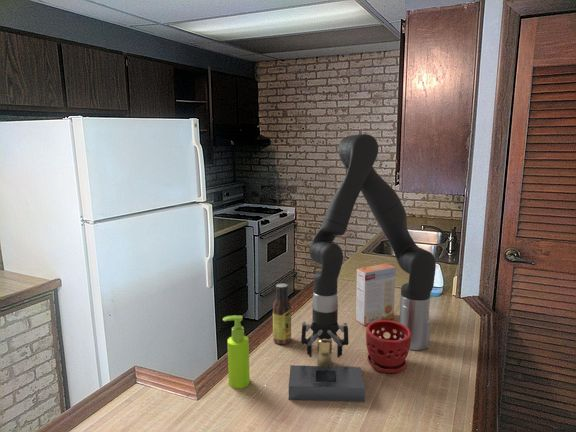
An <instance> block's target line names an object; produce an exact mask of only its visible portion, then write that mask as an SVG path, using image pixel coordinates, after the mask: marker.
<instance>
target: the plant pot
mask: <svg viewBox="0 0 576 432" xmlns="http://www.w3.org/2000/svg"><path fill="white" fill-rule="evenodd" d="M394 331H396V332H394ZM400 332H402V335H401V334H400ZM385 333H388V334H389V336H390V337H388V338H386V337H385V336H384V334H385ZM405 334H406V337H404V336H405ZM394 336H395V337H394ZM399 338H402V339H400V340H399ZM410 343H411V332H410V330H409V329H408V328H407V327H406V326H404V325H403V324H400V323H399V322H398V321H395V320H380V321H375V322H372V323H370V324H369V325H367V327H366V329H365V344H366V345H365V346H366V350H367V353H368V354H367V357H366V360H367V362H368V364H369V366H371V367H372V368H373V369H374V370H376V371H379V372H381V373H385V374H396V373H399V372H401V371H403V370H404V369H405V368H406V366H407V357H408V354H409V353H410Z"/></svg>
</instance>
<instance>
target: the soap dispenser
mask: <svg viewBox="0 0 576 432" xmlns="http://www.w3.org/2000/svg"><path fill="white" fill-rule="evenodd" d="M222 321H223V322H227V321H229V322H231V321H234V326H232V327H231V336H229V337H228V338H227V363H228V364H227V367H228V370H227V371H228V384H229V386H230V387H231V388H233V389H243V388H245V387H247V386H249V385H250V381H251V380H250V345H249V344H250V343H249V342H250V339H249V338H248V336H246V335H245V327H244V326H243V325H242V324H241V322H242V321H243V315H235V314H234V315H226V316H224V317H222Z"/></svg>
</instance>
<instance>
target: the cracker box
mask: <svg viewBox="0 0 576 432" xmlns="http://www.w3.org/2000/svg"><path fill="white" fill-rule="evenodd" d="M396 269H397V268H396V266H393V265H391V264H389V263H380V264H377V265H370V266H364V267H359V268H356V295H355V296H356V297H355V301H356V303H355V322H356V321H357V322H358V323H359V324H360V325H362V326H364V327H366V326H368V325H369V324H370V323H372V322H375V321H380V320H389V321H392V320H393V319H394V318H395V297H396V296H395V293H396V292H395V291H396Z"/></svg>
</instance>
